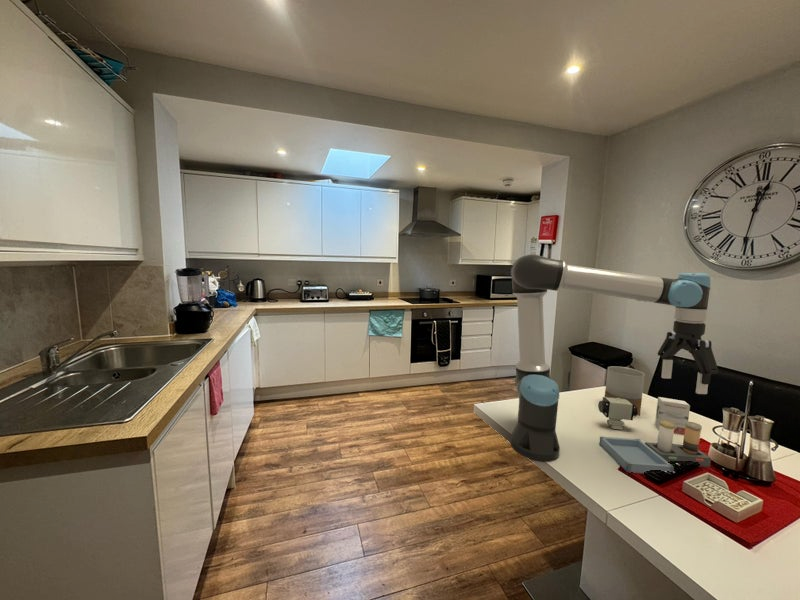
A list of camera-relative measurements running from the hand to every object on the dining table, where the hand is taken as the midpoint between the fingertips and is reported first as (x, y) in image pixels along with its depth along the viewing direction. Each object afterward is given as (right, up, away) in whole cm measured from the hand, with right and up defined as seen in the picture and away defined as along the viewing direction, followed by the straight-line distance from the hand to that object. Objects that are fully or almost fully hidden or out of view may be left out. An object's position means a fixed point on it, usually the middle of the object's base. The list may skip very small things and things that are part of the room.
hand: (682, 385), depth 103 cm
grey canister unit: (+4, -20, +34) cm, 40 cm away
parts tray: (-17, -23, -2) cm, 29 cm away
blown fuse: (+1, -24, -1) cm, 24 cm away
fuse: (-7, -24, 0) cm, 24 cm away
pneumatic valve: (-9, -22, +19) cm, 30 cm away
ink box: (+12, -22, +18) cm, 31 cm away
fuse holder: (-3, -24, -1) cm, 24 cm away
